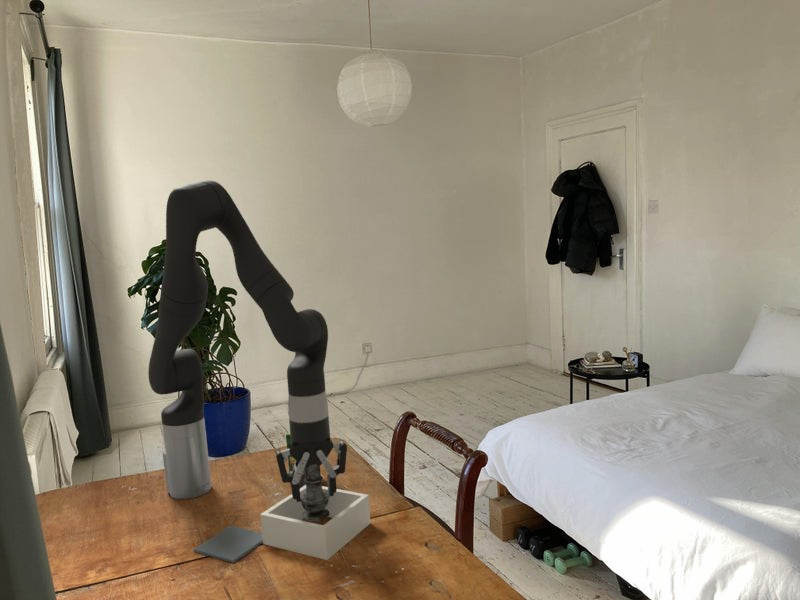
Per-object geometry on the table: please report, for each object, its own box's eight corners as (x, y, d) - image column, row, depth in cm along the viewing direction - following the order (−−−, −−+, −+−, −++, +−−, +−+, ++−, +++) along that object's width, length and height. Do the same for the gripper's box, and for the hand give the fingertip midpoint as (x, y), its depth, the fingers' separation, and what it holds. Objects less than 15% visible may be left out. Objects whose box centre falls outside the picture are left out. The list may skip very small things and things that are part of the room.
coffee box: (300, 489, 148) (295, 434, 146) (289, 488, 149) (284, 433, 147) (317, 475, 155) (312, 422, 153) (306, 474, 156) (302, 422, 154)
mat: (194, 551, 123) (193, 549, 122) (231, 527, 131) (231, 525, 131) (233, 562, 118) (233, 560, 118) (269, 537, 126) (269, 534, 126)
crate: (263, 543, 124) (260, 514, 123) (310, 510, 137) (307, 483, 136) (327, 560, 117) (324, 529, 116) (370, 523, 130) (368, 494, 129)
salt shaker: (325, 522, 123) (321, 462, 121) (296, 521, 124) (291, 461, 123) (334, 508, 129) (330, 450, 127) (306, 507, 130) (302, 450, 128)
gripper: (272, 425, 118) (279, 512, 121) (349, 415, 122) (355, 499, 125) (268, 413, 125) (275, 495, 128) (341, 403, 129) (347, 483, 132)
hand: (314, 497), depth 126 cm, fingers closed on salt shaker, 6 cm apart
